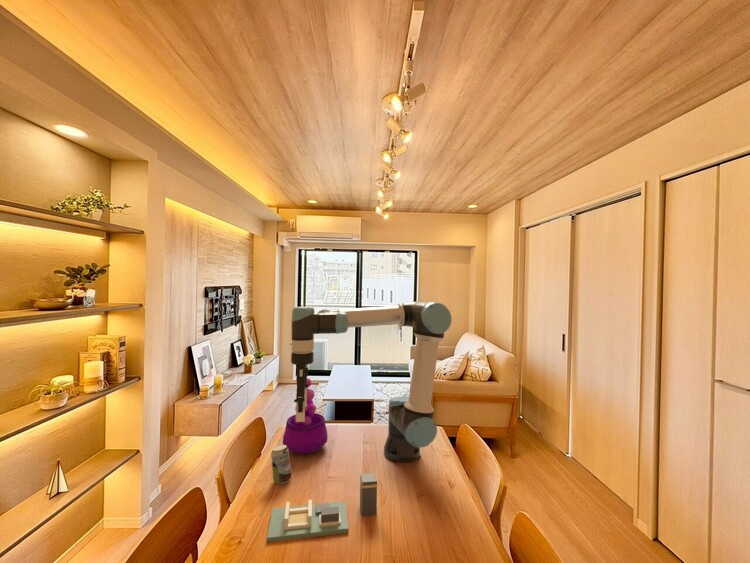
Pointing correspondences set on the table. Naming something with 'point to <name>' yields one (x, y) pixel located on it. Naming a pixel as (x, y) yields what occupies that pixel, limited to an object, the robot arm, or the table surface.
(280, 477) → the beverage can
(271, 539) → the board
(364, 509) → the plug
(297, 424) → the decorative plant
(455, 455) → the table surface
